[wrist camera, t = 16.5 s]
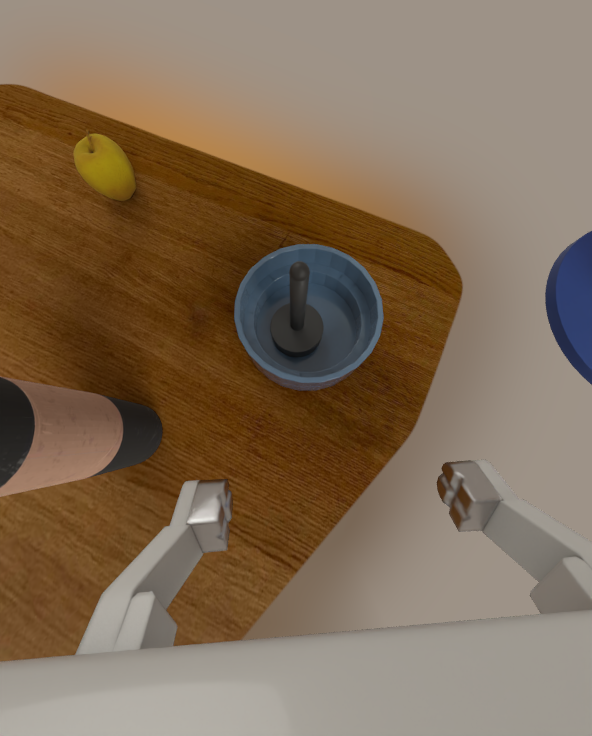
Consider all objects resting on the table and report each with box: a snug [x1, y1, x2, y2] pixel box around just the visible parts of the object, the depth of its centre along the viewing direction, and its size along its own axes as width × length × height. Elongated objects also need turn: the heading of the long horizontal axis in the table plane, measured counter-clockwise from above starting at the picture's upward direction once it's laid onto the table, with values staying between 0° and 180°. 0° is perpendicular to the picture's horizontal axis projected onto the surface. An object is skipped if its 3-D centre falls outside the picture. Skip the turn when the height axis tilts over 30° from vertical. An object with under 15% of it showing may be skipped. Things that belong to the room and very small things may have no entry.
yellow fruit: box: [74, 129, 136, 201], centre depth 37 cm, size 6×6×8 cm
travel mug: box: [0, 377, 162, 497], centre depth 24 cm, size 8×8×20 cm
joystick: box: [270, 261, 324, 357], centre depth 29 cm, size 6×6×15 cm
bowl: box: [234, 244, 383, 391], centre depth 34 cm, size 16×16×6 cm
